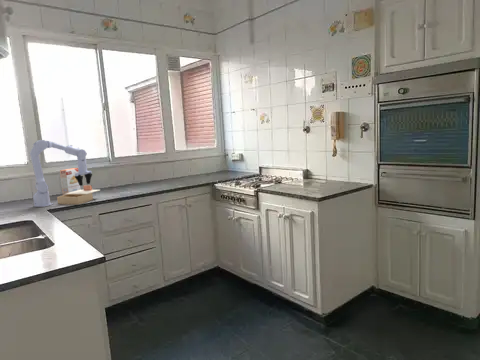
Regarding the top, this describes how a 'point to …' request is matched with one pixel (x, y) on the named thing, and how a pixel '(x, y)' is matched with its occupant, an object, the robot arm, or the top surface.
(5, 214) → the top surface
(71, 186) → the cracker box
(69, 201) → the wooden drawer
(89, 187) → the lid
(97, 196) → the top surface
